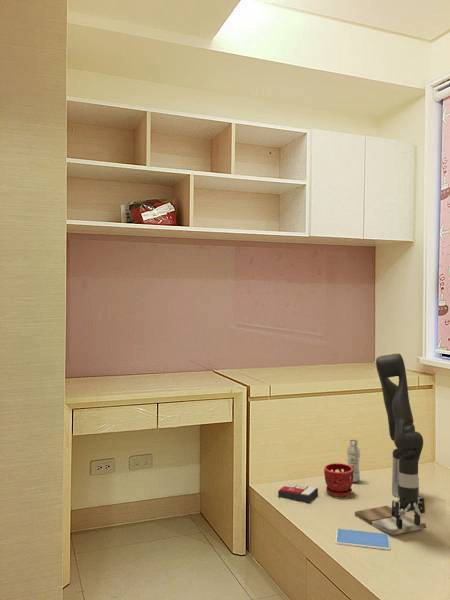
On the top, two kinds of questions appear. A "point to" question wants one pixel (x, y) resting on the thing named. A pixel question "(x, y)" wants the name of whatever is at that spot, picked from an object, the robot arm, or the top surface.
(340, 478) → the plant pot
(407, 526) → the plank
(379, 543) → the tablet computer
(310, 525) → the top surface
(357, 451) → the plastic bottle
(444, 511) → the top surface
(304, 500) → the multicoloured piece
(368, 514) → the laid board
